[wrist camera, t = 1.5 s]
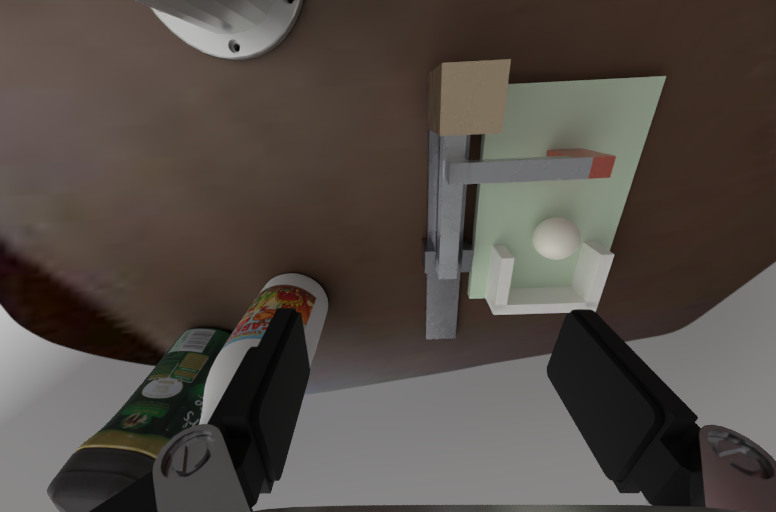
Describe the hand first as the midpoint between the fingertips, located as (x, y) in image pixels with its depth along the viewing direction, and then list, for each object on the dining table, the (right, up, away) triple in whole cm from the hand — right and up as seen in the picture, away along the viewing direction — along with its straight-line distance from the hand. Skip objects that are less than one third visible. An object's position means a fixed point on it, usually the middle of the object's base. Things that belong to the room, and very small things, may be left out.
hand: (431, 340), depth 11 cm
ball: (+14, +5, +17) cm, 23 cm away
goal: (+14, +1, +21) cm, 26 cm away
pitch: (+14, +8, +19) cm, 25 cm away
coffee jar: (-24, -10, +29) cm, 38 cm away
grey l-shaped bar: (+9, +10, +17) cm, 21 cm away
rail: (+4, +6, +20) cm, 22 cm away
